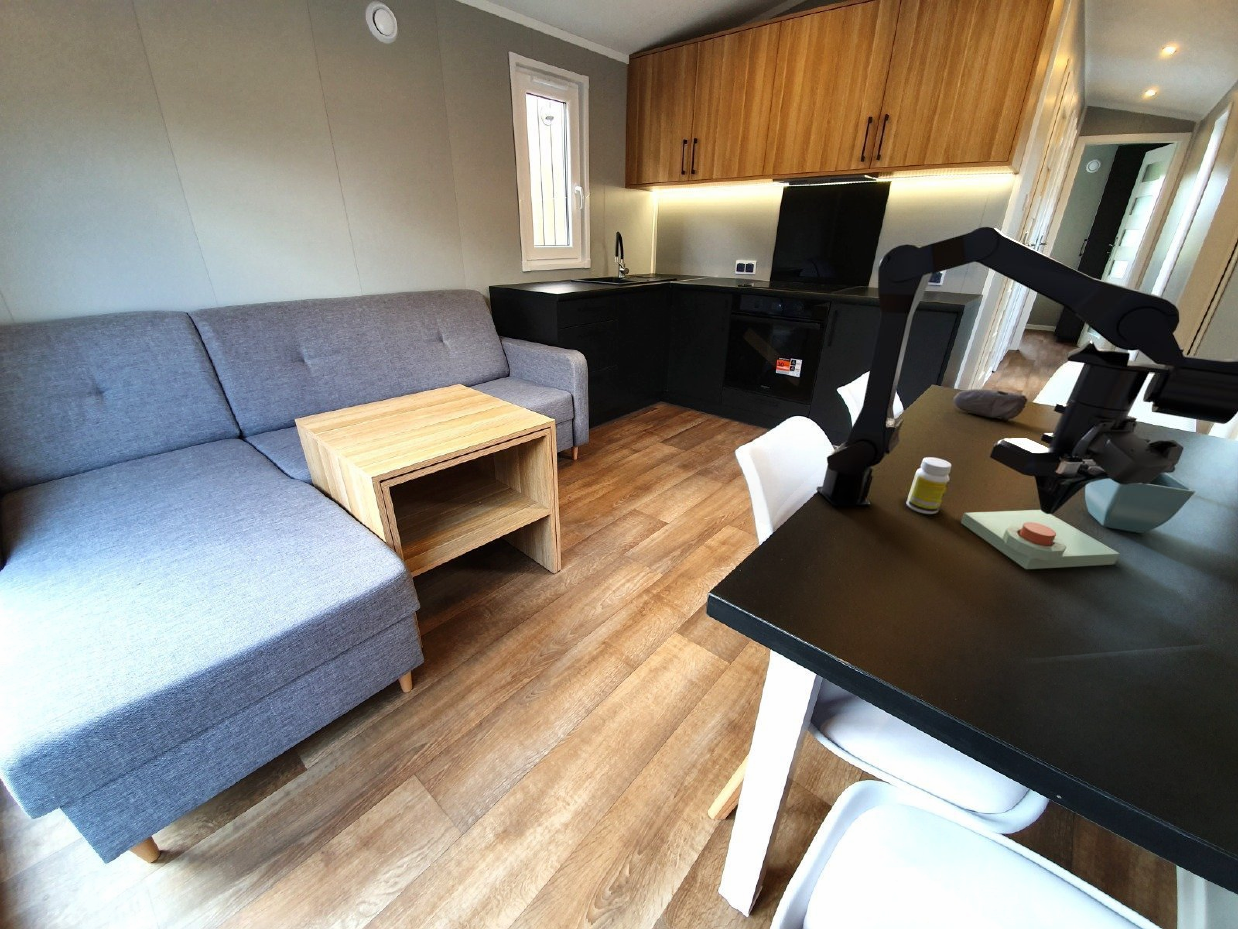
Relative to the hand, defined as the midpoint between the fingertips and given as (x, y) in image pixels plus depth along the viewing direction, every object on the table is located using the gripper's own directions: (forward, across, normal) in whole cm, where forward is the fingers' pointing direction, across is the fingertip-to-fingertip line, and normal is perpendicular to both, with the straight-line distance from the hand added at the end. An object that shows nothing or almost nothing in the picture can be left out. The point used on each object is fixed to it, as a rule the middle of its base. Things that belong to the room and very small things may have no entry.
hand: (1046, 512), depth 66 cm
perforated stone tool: (+8, +44, +58) cm, 74 cm away
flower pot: (+8, +24, +8) cm, 26 cm away
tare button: (+4, 0, 0) cm, 4 cm away
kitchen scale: (+7, +4, +3) cm, 9 cm away
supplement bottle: (+8, -6, +14) cm, 17 cm away
